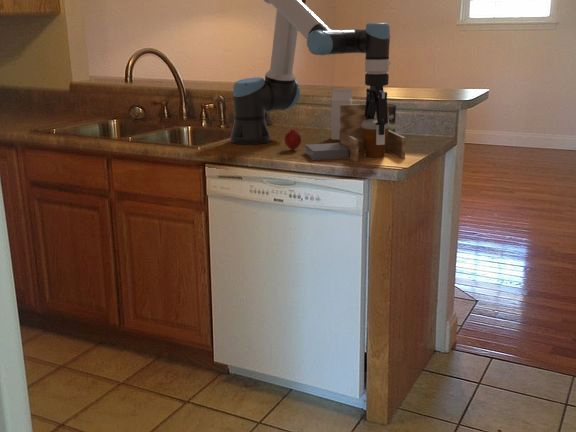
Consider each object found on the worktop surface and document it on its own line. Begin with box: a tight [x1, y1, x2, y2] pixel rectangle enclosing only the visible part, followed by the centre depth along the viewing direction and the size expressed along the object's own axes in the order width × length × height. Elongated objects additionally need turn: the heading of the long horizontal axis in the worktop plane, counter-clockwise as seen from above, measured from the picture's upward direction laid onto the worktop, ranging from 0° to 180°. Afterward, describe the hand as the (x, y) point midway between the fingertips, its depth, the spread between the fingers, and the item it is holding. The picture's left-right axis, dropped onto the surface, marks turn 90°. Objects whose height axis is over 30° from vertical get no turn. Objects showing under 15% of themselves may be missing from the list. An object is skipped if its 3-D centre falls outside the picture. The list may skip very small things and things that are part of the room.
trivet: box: [304, 142, 350, 161], centre depth 223 cm, size 12×12×3 cm
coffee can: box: [388, 103, 397, 133], centre depth 241 cm, size 10×10×14 cm
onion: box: [284, 127, 302, 151], centre depth 232 cm, size 6×6×8 cm
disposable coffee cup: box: [361, 119, 390, 160], centre depth 218 cm, size 10×10×12 cm
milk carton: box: [331, 88, 353, 141], centre depth 252 cm, size 7×7×19 cm
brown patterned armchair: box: [339, 102, 407, 162], centre depth 221 cm, size 17×18×16 cm
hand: (375, 141), depth 218 cm, fingers closed on disposable coffee cup, 9 cm apart
